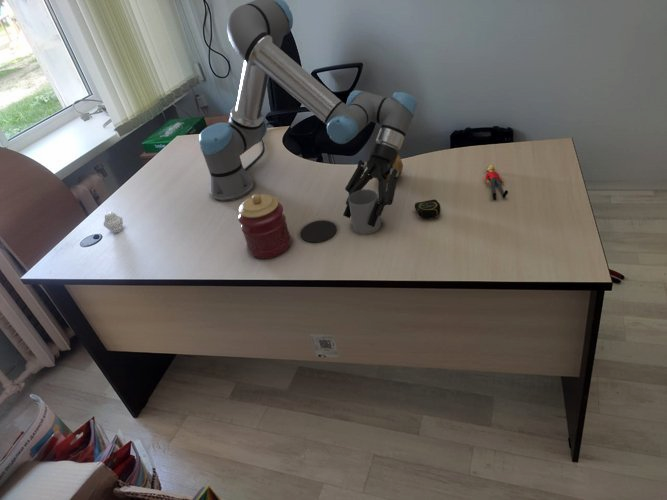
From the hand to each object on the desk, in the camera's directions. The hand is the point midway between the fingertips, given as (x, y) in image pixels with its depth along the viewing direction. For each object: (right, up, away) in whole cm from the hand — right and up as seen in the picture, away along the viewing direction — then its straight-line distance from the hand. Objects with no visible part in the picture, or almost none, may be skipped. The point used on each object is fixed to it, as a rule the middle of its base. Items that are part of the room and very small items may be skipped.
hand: (358, 221), depth 137 cm
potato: (+12, +16, +24) cm, 31 cm away
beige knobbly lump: (-81, -2, +25) cm, 85 cm away
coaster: (-12, -3, +5) cm, 13 cm away
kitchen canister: (-26, -7, +3) cm, 27 cm away
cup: (+3, -1, +4) cm, 5 cm away
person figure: (+43, +12, +11) cm, 46 cm away
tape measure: (+21, +2, +4) cm, 21 cm away
